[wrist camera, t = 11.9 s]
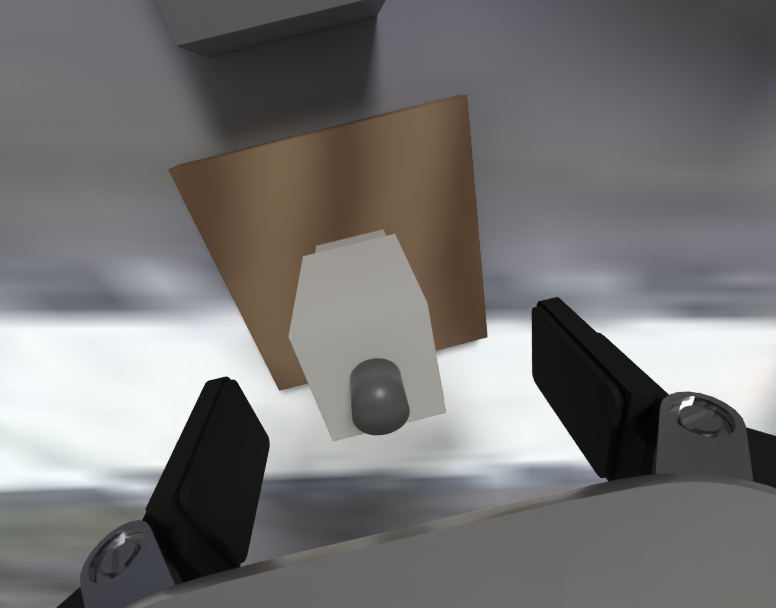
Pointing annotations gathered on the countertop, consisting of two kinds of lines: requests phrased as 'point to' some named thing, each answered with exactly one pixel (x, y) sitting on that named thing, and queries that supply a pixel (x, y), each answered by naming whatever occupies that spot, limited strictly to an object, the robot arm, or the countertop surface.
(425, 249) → the walnut board
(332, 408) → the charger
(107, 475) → the countertop surface
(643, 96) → the countertop surface
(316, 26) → the power strip
